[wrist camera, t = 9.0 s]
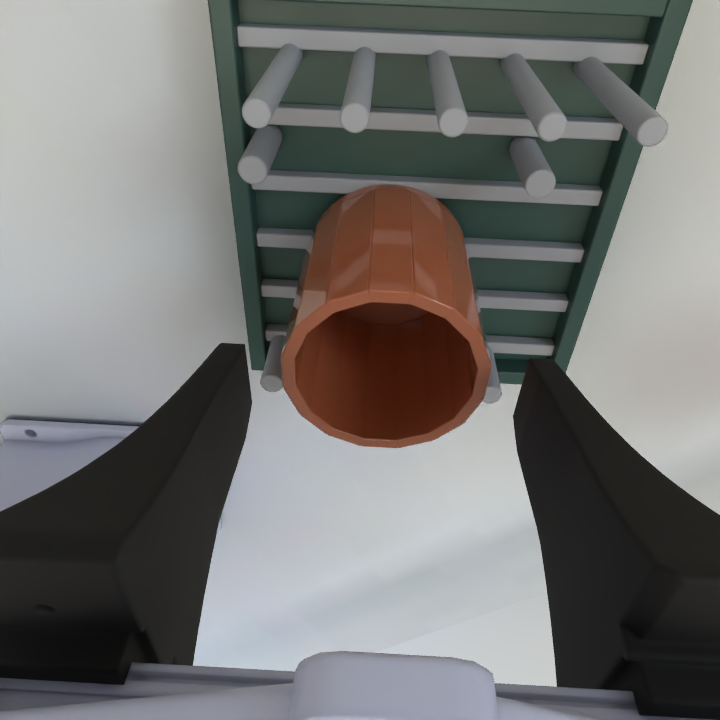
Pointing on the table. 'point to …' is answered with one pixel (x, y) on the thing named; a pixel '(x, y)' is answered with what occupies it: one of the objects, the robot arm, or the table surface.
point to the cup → (386, 322)
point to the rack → (443, 143)
